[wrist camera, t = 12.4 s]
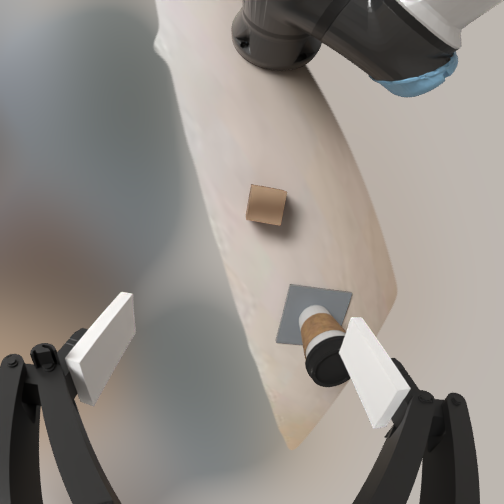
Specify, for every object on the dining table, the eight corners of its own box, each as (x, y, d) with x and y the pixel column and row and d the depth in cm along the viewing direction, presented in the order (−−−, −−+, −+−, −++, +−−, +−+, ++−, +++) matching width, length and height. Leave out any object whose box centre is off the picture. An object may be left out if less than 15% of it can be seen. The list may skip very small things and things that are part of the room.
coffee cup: (343, 309, 48) (376, 355, 34) (318, 343, 50) (340, 395, 36) (308, 291, 47) (333, 337, 33) (283, 328, 49) (297, 382, 34)
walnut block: (251, 184, 42) (252, 185, 38) (282, 190, 43) (287, 191, 38) (245, 214, 44) (246, 219, 39) (276, 220, 44) (280, 225, 39)
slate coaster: (289, 284, 47) (290, 285, 46) (351, 292, 48) (352, 293, 47) (275, 340, 50) (275, 342, 50) (332, 345, 51) (333, 346, 51)
